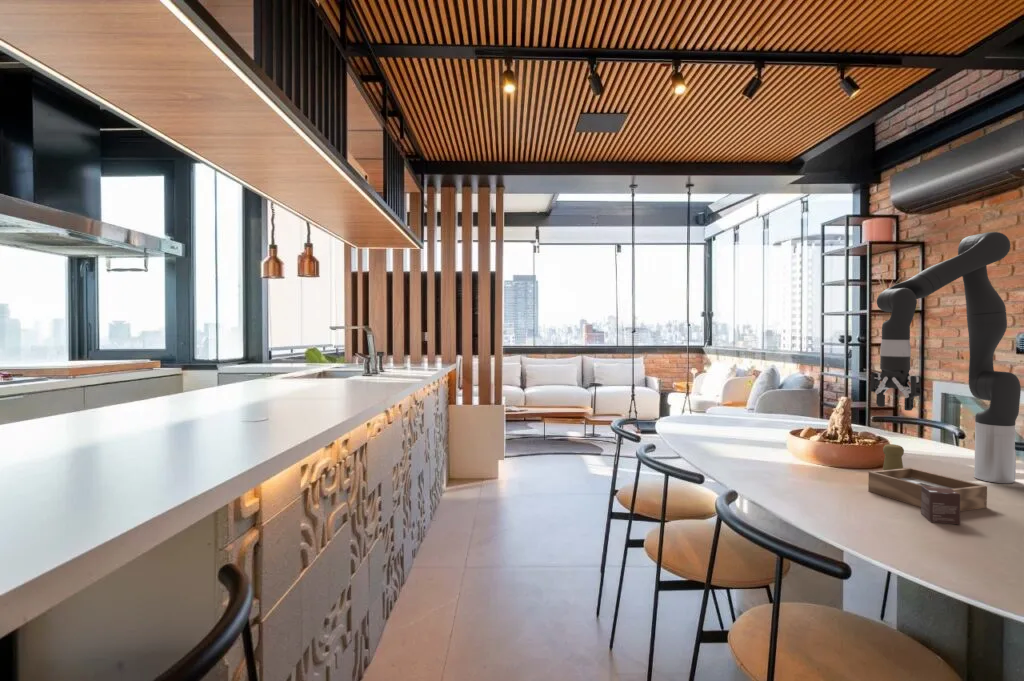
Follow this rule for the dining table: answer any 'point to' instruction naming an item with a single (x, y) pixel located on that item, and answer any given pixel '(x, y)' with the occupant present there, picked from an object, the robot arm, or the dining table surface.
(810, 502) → the dining table surface
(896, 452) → the cork
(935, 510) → the box
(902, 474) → the wooden tray
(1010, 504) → the dining table surface
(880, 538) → the dining table surface
